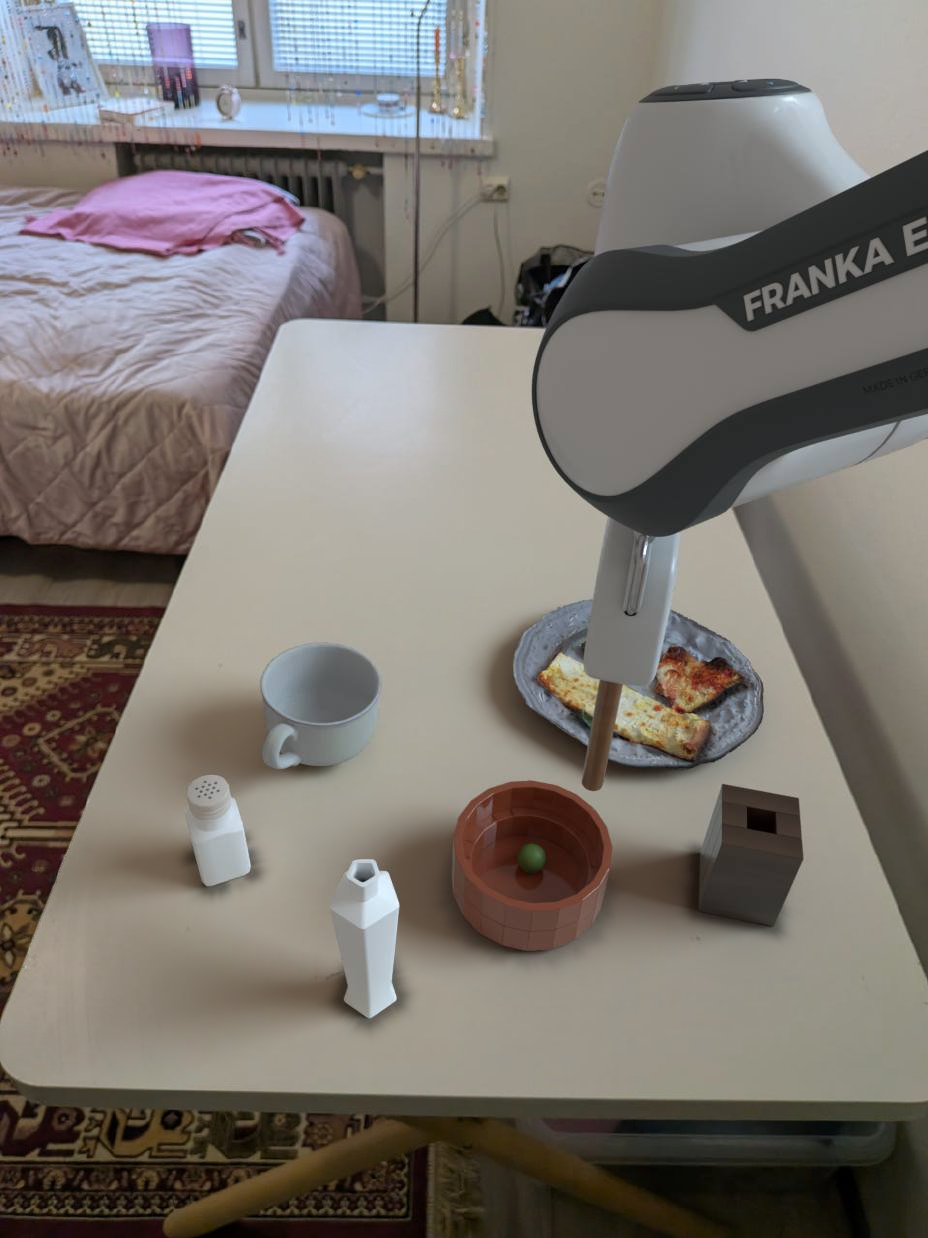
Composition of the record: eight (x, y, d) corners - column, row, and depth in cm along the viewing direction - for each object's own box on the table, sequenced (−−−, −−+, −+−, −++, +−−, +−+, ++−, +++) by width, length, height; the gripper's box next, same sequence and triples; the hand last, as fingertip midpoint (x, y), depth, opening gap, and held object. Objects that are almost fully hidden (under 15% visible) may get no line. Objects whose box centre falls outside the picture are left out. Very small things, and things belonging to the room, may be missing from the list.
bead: (542, 882, 76) (544, 864, 75) (513, 876, 77) (515, 858, 75) (546, 858, 78) (549, 840, 77) (518, 852, 78) (520, 835, 77)
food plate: (799, 692, 96) (808, 667, 94) (679, 823, 82) (686, 797, 80) (602, 588, 108) (606, 564, 106) (469, 687, 95) (471, 661, 92)
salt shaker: (194, 853, 78) (176, 779, 72) (241, 838, 79) (227, 764, 73) (204, 891, 75) (186, 817, 69) (253, 875, 76) (239, 800, 70)
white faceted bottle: (331, 974, 70) (318, 853, 60) (387, 957, 71) (383, 836, 62) (346, 1030, 67) (335, 912, 57) (405, 1011, 68) (403, 892, 58)
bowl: (593, 970, 71) (603, 926, 67) (436, 935, 73) (437, 891, 69) (609, 841, 80) (618, 796, 77) (469, 813, 82) (472, 768, 78)
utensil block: (773, 927, 74) (803, 859, 69) (698, 911, 75) (721, 843, 70) (771, 866, 79) (799, 797, 73) (700, 852, 80) (722, 783, 74)
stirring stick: (606, 798, 64) (648, 594, 53) (574, 792, 65) (609, 588, 53) (609, 774, 66) (650, 571, 54) (578, 768, 66) (613, 566, 55)
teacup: (322, 685, 94) (317, 625, 89) (405, 733, 89) (405, 672, 84) (219, 767, 85) (206, 706, 80) (305, 825, 81) (298, 763, 75)
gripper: (718, 556, 39) (662, 772, 48) (722, 362, 55) (679, 552, 64) (571, 533, 40) (543, 749, 49) (615, 349, 56) (588, 538, 65)
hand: (620, 636), depth 57 cm, fingers closed on stirring stick, 2 cm apart
